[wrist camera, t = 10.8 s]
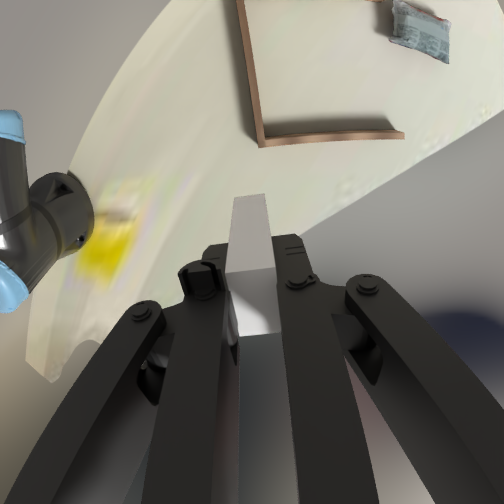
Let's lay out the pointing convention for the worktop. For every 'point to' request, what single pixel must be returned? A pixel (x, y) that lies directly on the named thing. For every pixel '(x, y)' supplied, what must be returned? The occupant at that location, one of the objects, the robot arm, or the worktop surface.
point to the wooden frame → (301, 137)
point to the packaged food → (420, 31)
